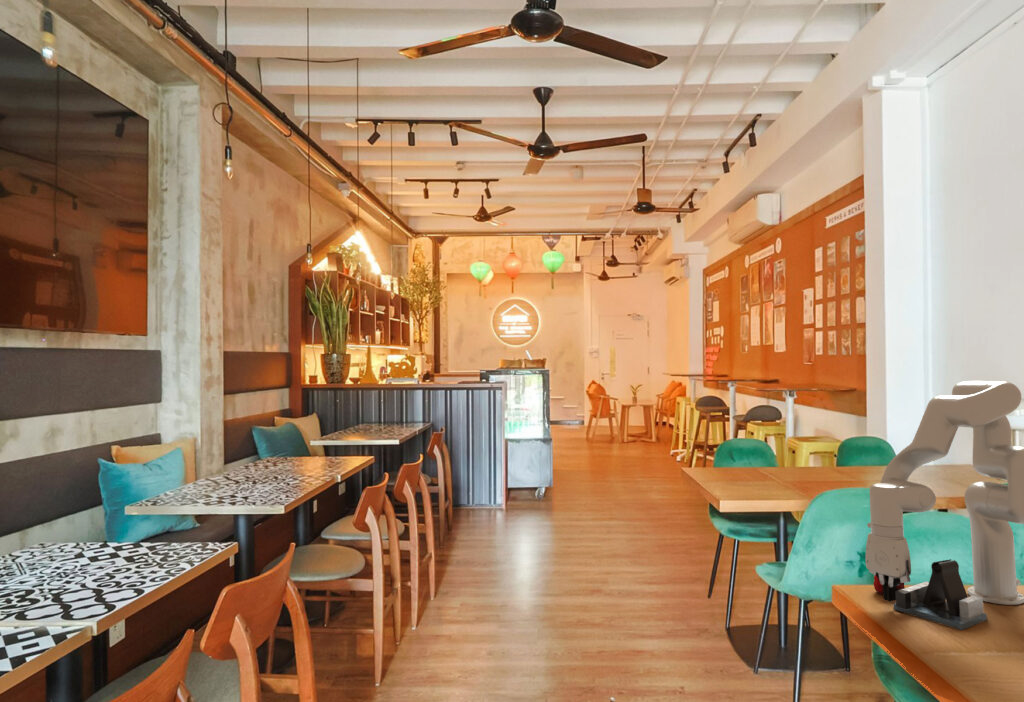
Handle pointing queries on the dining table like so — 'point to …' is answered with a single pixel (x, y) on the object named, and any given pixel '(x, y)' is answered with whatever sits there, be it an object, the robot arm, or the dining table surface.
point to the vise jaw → (911, 595)
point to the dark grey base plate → (968, 614)
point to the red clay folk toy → (879, 586)
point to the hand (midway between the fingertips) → (890, 599)
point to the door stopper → (945, 587)
